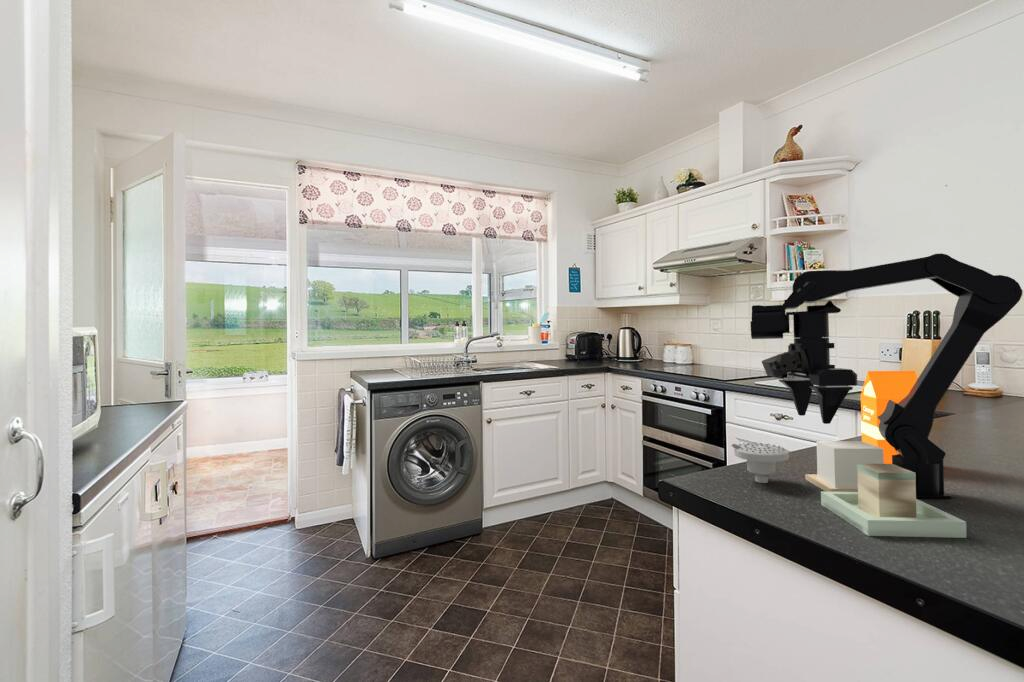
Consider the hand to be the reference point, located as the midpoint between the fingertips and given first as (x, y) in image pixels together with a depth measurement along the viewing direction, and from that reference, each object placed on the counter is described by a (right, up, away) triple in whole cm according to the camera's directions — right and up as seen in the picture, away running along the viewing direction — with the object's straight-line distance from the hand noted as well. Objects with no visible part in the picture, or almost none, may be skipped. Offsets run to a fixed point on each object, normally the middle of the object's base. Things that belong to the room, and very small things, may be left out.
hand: (813, 419), depth 90 cm
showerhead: (-10, -13, +1) cm, 16 cm away
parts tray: (-1, -12, -19) cm, 22 cm away
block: (-1, -11, -19) cm, 22 cm away
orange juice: (+24, -12, +10) cm, 28 cm away
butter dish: (+4, -12, -3) cm, 13 cm away
